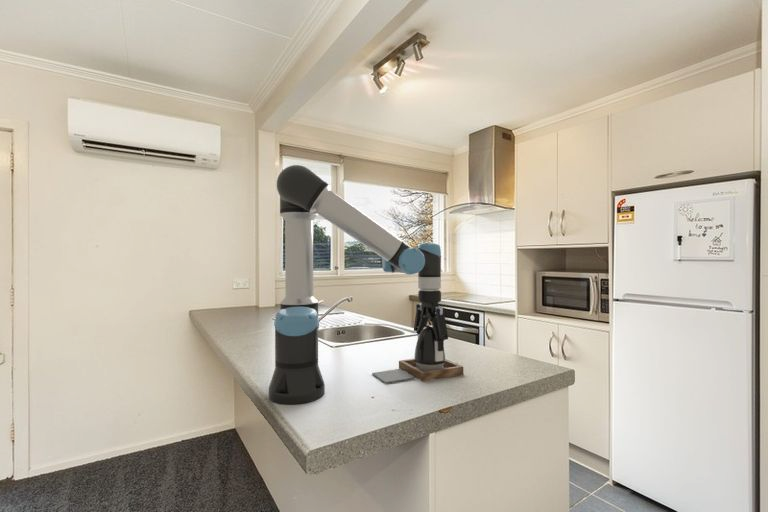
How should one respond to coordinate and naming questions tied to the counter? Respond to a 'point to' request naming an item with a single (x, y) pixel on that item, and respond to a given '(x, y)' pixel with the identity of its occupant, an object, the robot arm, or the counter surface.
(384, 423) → the counter surface
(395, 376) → the pad
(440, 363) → the pump dispenser
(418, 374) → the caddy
